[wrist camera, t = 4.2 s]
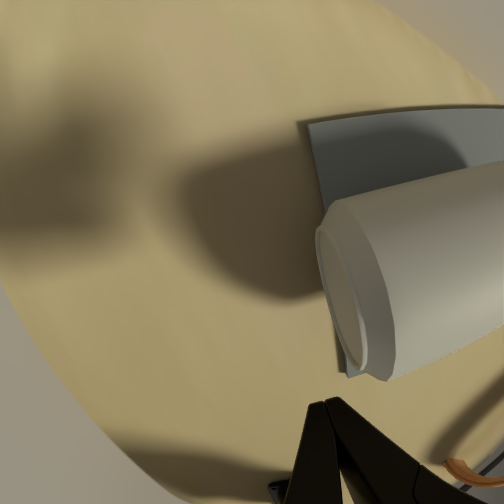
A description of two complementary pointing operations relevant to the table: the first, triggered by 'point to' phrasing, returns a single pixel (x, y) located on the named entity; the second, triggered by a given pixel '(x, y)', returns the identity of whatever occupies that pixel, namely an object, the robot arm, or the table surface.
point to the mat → (400, 151)
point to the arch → (470, 474)
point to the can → (415, 268)
